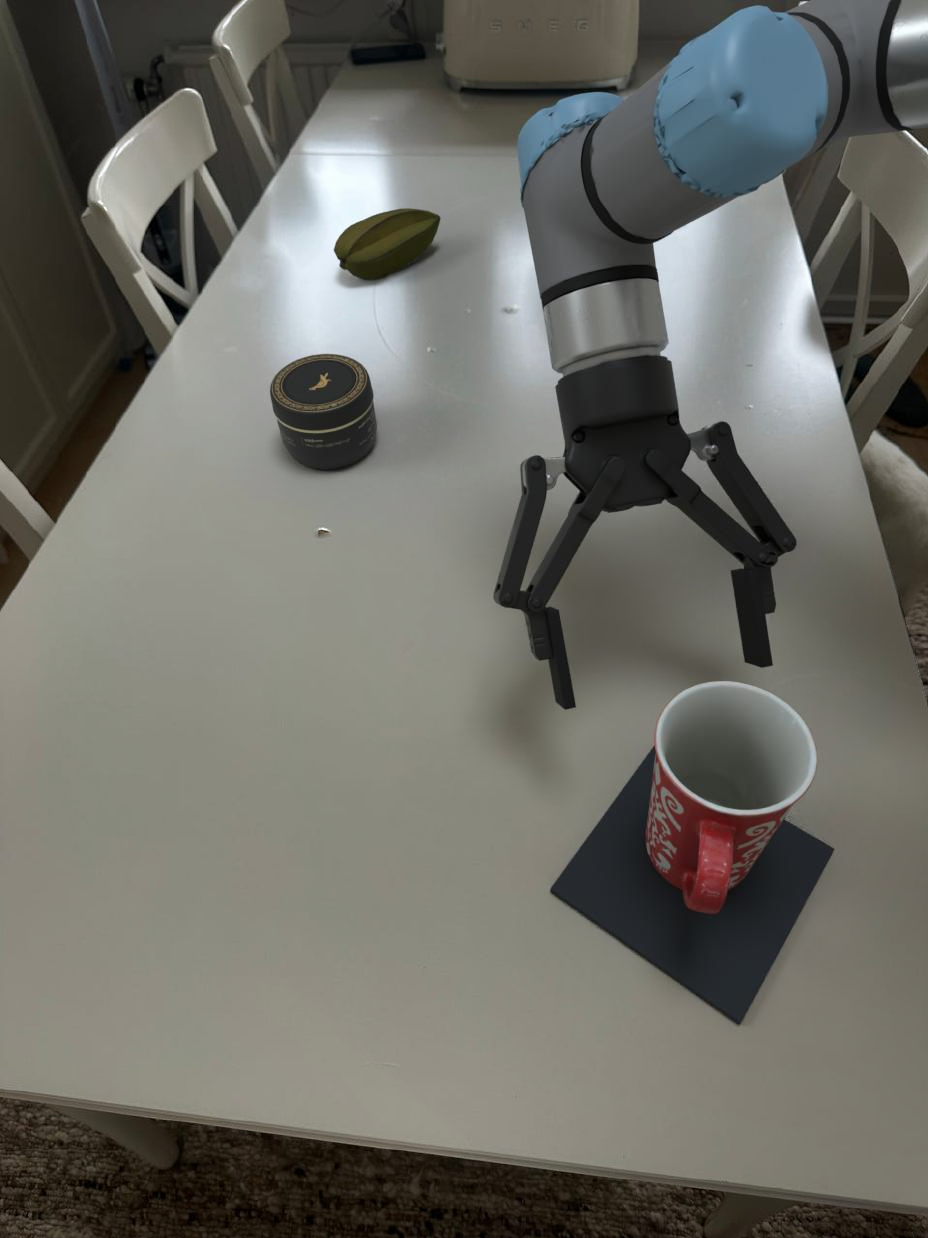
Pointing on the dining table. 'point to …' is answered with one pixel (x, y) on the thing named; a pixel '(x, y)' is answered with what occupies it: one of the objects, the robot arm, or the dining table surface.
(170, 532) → the dining table surface
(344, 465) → the jar
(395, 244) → the fruit
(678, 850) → the mug
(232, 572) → the dining table surface
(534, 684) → the dining table surface
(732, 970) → the mat
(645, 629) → the dining table surface
